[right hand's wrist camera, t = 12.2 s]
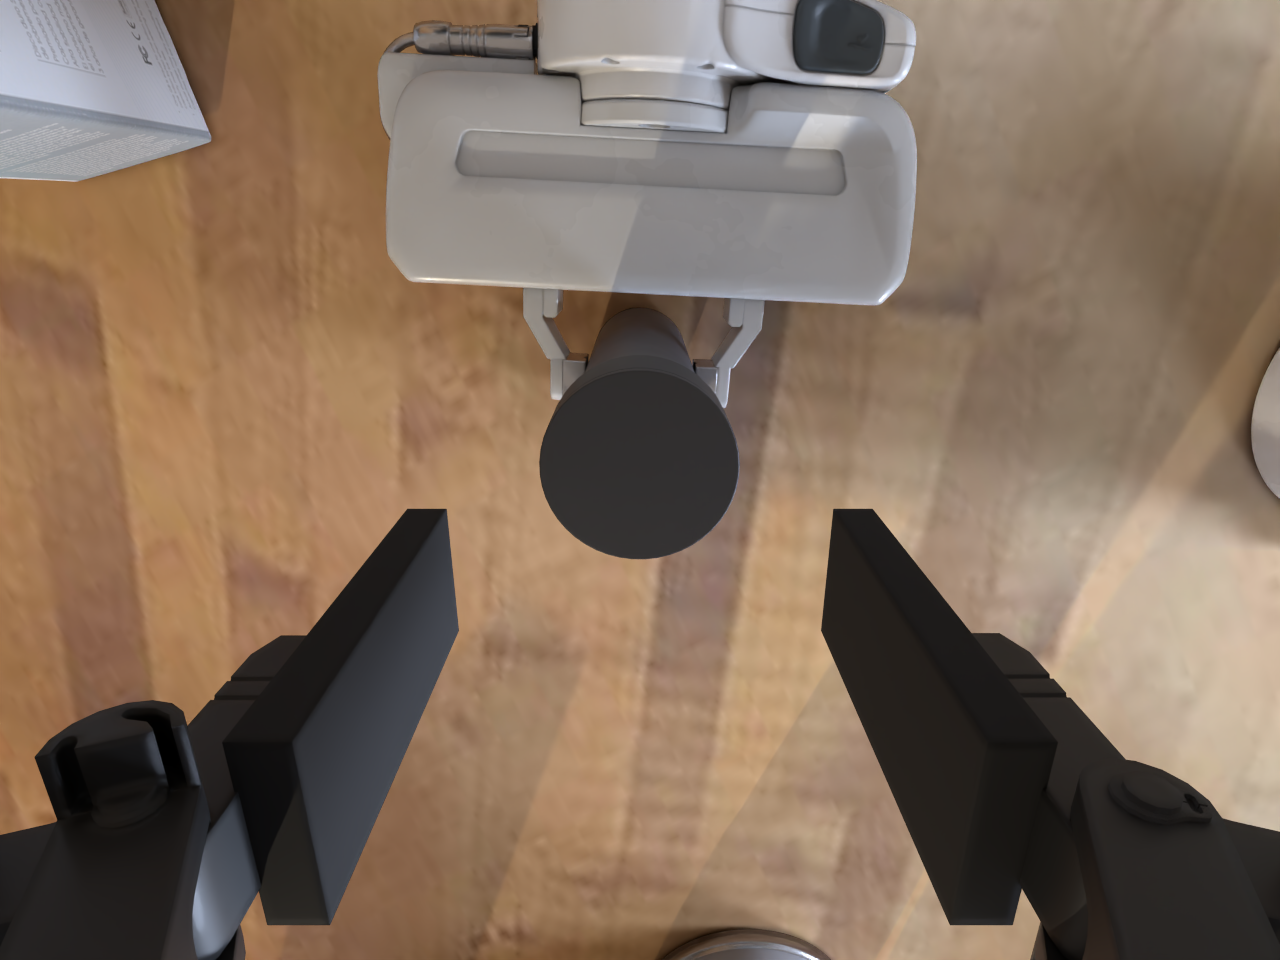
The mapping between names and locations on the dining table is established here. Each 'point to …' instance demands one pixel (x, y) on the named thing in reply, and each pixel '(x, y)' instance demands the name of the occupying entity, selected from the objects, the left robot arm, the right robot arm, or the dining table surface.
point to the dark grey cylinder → (639, 338)
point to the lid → (639, 458)
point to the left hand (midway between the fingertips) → (639, 401)
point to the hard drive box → (90, 89)
